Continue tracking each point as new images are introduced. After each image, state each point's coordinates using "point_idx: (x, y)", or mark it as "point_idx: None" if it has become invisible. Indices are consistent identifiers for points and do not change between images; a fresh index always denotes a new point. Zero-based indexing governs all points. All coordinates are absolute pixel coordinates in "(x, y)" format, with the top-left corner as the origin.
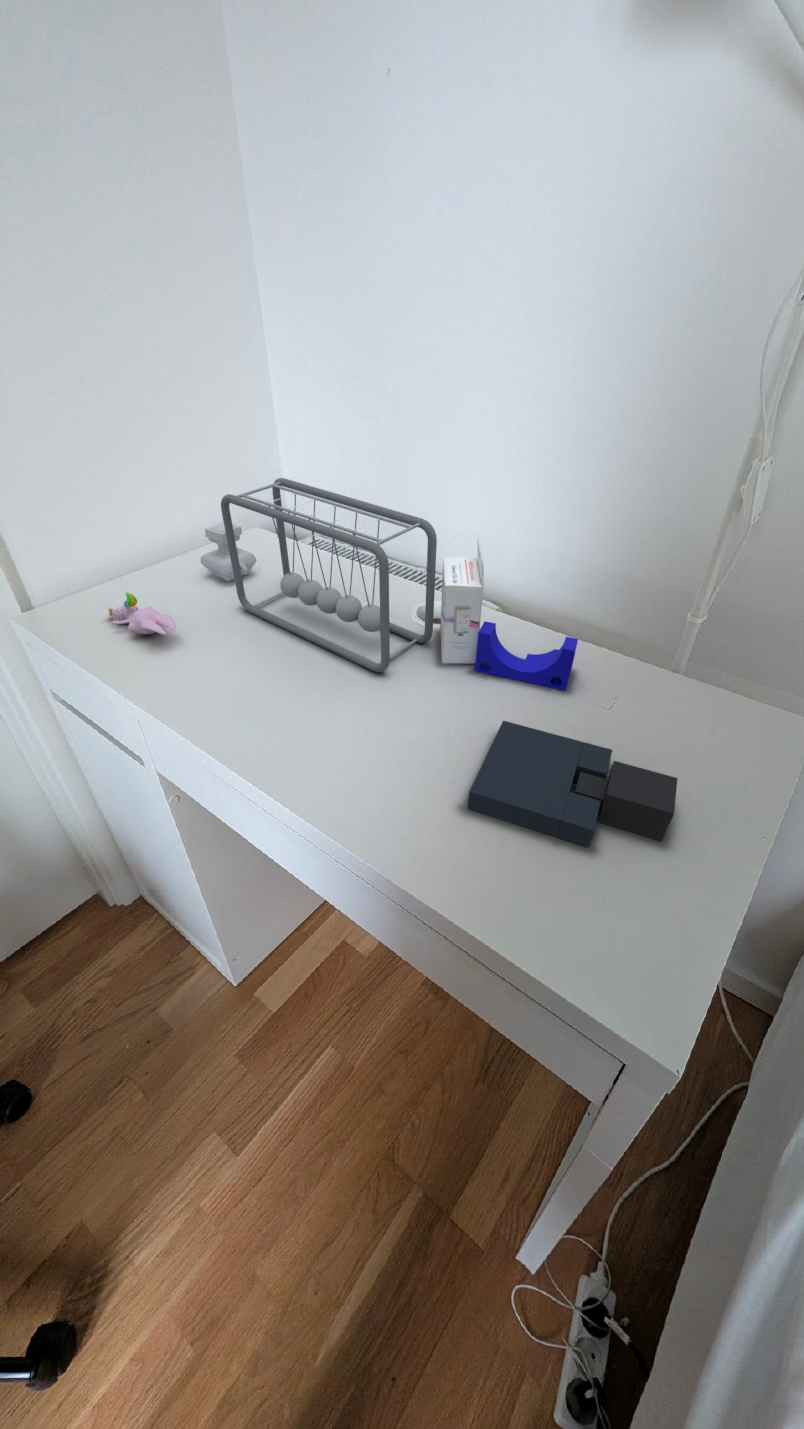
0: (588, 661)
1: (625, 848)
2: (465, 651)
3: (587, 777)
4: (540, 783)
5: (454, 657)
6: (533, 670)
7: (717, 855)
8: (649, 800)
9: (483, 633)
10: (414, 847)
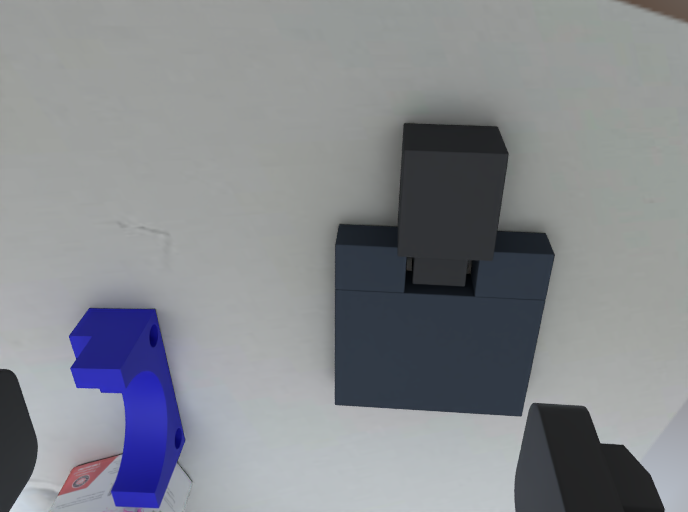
0: (29, 283)
1: (530, 180)
2: None
3: (423, 272)
4: (470, 336)
5: (179, 480)
6: (153, 379)
7: (501, 29)
8: (486, 195)
9: (157, 501)
10: (605, 428)
